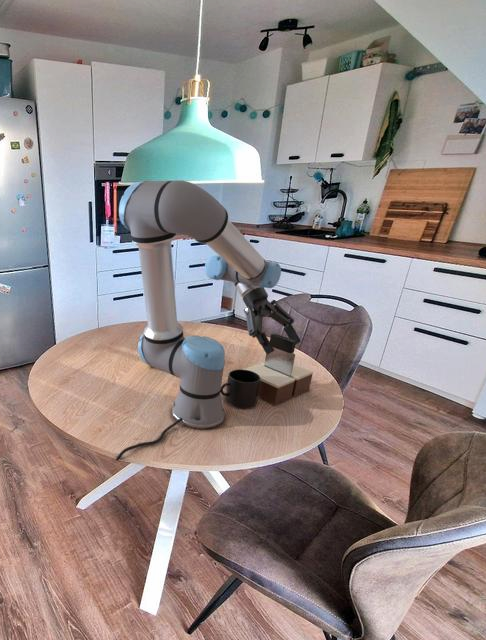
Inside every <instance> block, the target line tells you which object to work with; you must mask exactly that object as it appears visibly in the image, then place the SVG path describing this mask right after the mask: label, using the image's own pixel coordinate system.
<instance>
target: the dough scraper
mask: <svg viewBox="0 0 486 640" xmlns="http://www.w3.org/2000/svg"><path fill="white" fill-rule="evenodd" d="M269 342H270V343H271V345H272V347H273V349H274V350H275V351H273V352H271V353H270V354H268V355H267V354H266V353H265V356H264V357H265V358H264V362H265V363H264V366H265V367H267V368H270V369H272V370H274V371H277V372H279V373H282V374H284V375H286V376H289V377H291V374H292V369H293V364H294V365H295V359H296V354H295V349H296V345H297V344H296V341H295V340H292V339H289V337H287V336H283V335H281V334H278V333H271V334H270V336H269Z"/></svg>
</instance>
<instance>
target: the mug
mask: <svg viewBox="0 0 486 640" xmlns="http://www.w3.org/2000/svg"><path fill="white" fill-rule="evenodd" d="M259 384H260V376H259V375H258V374H257V373H255V372H252V371H249V370H242V369H241V368H240V369H232V370H230V371H229V372H228V375H227V382H225V383H222V384H221V392H220V395H221V396H223V397H225V401H226V403H227V404H228V405H230V406H231V407H235V408H238V409H252V408H254V407H255V406H256V405H257V402H258V398H259V397H258V390H259ZM225 387H226V391H224V388H225Z"/></svg>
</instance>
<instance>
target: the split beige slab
mask: <svg viewBox="0 0 486 640" xmlns="http://www.w3.org/2000/svg"><path fill="white" fill-rule="evenodd" d="M264 363H265V361H262V362H260V363H257V364H254V365H251V366H248V367H246V368H242V369H241V370H249V371H252V372H255V373H257V374H258V375H259V376H260V384H259V390H258V397H257V398H259V399H261V400H263V401H265V402H267V403H269V404H270V405H273V406H276V405H279V404H281V403H283V402H286V401H288V400H290V399H292V397H293V398H295V397H296V396H299V395H301V394H303V393H306V392H308V391H309V390H310V388H311V387H310V386H311V382H312V379H313V375H314V371H312V370H309V369H307V368H304V367H302V366H299V365H297V364H295V363H294V364H293V369H292V374H291V377H289V376H286V375H284V374H282V373H279V372H277V371H274V370H272V369H270V368H267V367H265V366H264Z"/></svg>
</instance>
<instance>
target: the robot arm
mask: <svg viewBox="0 0 486 640" xmlns="http://www.w3.org/2000/svg"><path fill="white" fill-rule="evenodd" d="M118 216H119V221H120V222H121V224H122V225H123V226H124V228H126V229H127V230H128V231H130V235H131V241H132V243H133V244H134V245H136V246H137V247H138V255H139V260H140V261H139V262H140V271H141V278H142V288H143V296H144V304H145V311H146V321H147V325H146V327H144V329H143V332H142V334H141V335H140V337H139V340H140V341H138V344H137V352H138V355H139V358H140V359H141V361H142V362H143V363H145V364H146V365H148V366H149V367H150V366H151V367H150V368H153V369H156V370H159V371H161V372H164V373H167V374H169V375H171V376H173V377H176V378H178V379H179V390H178V393H177V395H176V397H175V400H174V401H173V404H172V407H171V415H172V417H173V419H174V420H175V421H174V422H173V423H172V424H170V425H169V426H167V427H166V428H165V429H164V430H163V431H162V432H161V434H160V435H159V436H158V438H157V439H155V440H150V441H146V442H140V443H137V444H134V445H131V446H128V447H126V448H124V449H123V450H122V451H120V452H119V453H118V455H117V457H116V458H115V461H119V460H120V459H121V458H122V456H123V455H124V454H125V453H126V452H128V451H131V450H134V449H136V448H139V447H145V446H152V445H155V444H158V443H159V442H160V441H162V439H163V437H164V436H165V434H166V433H167V432H168V431H169V430H171V429H172V428H173V427H176V425H178V424H181V425H182V426H185V427H188V428H191V429H199V430H208V429H212V428H216V427H218V426H221V424H222V423H223V422H224V420H225V409H224V406H223V399H222V394H221V387H222V385H223V377H224V376H223V375H224V367H225V364H226V361H225V357H226V355H225V353H226V351H225V349H224V346H223V345H222V344H221V343H220V342H219V341H218V340H216V339H214V338H211V337H209V336H201V335H189V336H187V337H185V336H184V327H183V325H182V324H181V323H180V322H179V321H178V315H177V314H178V313H177V304H176V303H177V301H176V289H175V275H174V262H173V250H172V249H173V248H172V242H173V240H174V239H175V238H176V237H177V235H182V236H187V237H190V238H192V239H194V240H195V241H196V242H197V243H200V244H206V246H208V247H209V248H210V249H211V250H212V251H214V253H216V255H211V256H210V257H209V258H208V259H206V262H205V264H204V273H205V276H206V277H207V278H208V279H210V280H214V281H226V282H232V284H233V285H234V287H235V288H236V290H237V292H238V294H239V295H240V297H241V298H242V301H243V303H244V305H245V306H246V307H245V308H244V309H243V313H244V315H245V320H246V325H247V326H246V327H247V333H248V336H250V337H251V338H253V339H255V338H256V340H257V341H258V343H259V345H261V347H262V349H263V351H264V352H265V355H266V354H267V355H268V354H270V353H271V352H273V351H275V350H274V349H273V347H272V345H271V343H270V339H269V338H268V337H267V335H266V333H265V332H263V320H264V319H263V318H270V319H272V320H274V321H275V322H276V323H278V324H279V325H281V326H283V327H284V328H283V331H284V332H285V334H286V336H287V338H289V339H292V340H295V341H296V345H298V344H299V343H301V342H302V340H301V339H300V337H299V335H298V333H297V332H296V330H295V328H294V326H293V324H294V322H295V319H294V318H293V316H291V315H290V314H289V313H288V312H287V311H286V310H285V309H284V308H283V307H282V306H280V305H279V303H278V302H277V300H276V299H272V300H271V301H270V300H268V298H269V294H268V292H267V291H266V289H273V288H274V287H276V286H277V285H278V283H279V281H280V278H281V275H282V267H281V265H280V264H279V263H278V262H273V261H271V260H270V261H268V260H266V259H265V258H264V257H263V256H262V255H261V254H260V252H258V251H257V249H256V248H255V247H254V246H253V245H252V244H251V243H250V242H249V241H248V240H247V238H246V237H245V236H244V235H243V234H242V233H241V232H240V230H239V229H238V228H237V227H236V226H235V225H234V224H233V223H232V221H231V220H230V219H229V218H230V215H229V212H228V211H227V209H226V208H225V207H224V206H223V204H222V203H220V201H219V200H218V199H216V198H215V197H214V196H213V195H212V194H210V193H209V192H208V191H206V190H205V189H203V188H202V187H201V186H199V185H197V184H195V183H193V182H190V181H187V180H180V179H179V180H176V179H175V180H143V181H137V182H133V183H131V185H128V187H127V188H126V189H125V191H124V193H123V195H121V198H120V201H119V205H118ZM265 288H266V289H265Z"/></svg>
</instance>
